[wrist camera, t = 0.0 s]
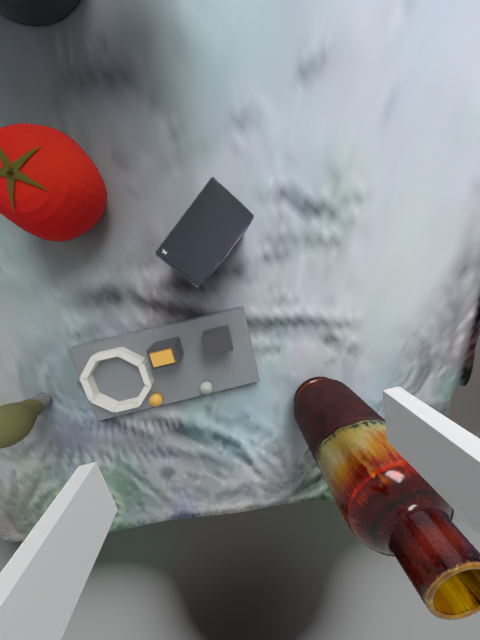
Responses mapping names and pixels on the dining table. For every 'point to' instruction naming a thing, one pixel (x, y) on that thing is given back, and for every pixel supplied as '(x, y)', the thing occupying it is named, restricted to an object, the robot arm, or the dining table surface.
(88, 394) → the breaker panel
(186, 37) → the dining table surface
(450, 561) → the vase
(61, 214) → the tomato
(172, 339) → the tagged toggle
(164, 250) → the small box
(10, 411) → the light bulb
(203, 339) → the plain toggle
